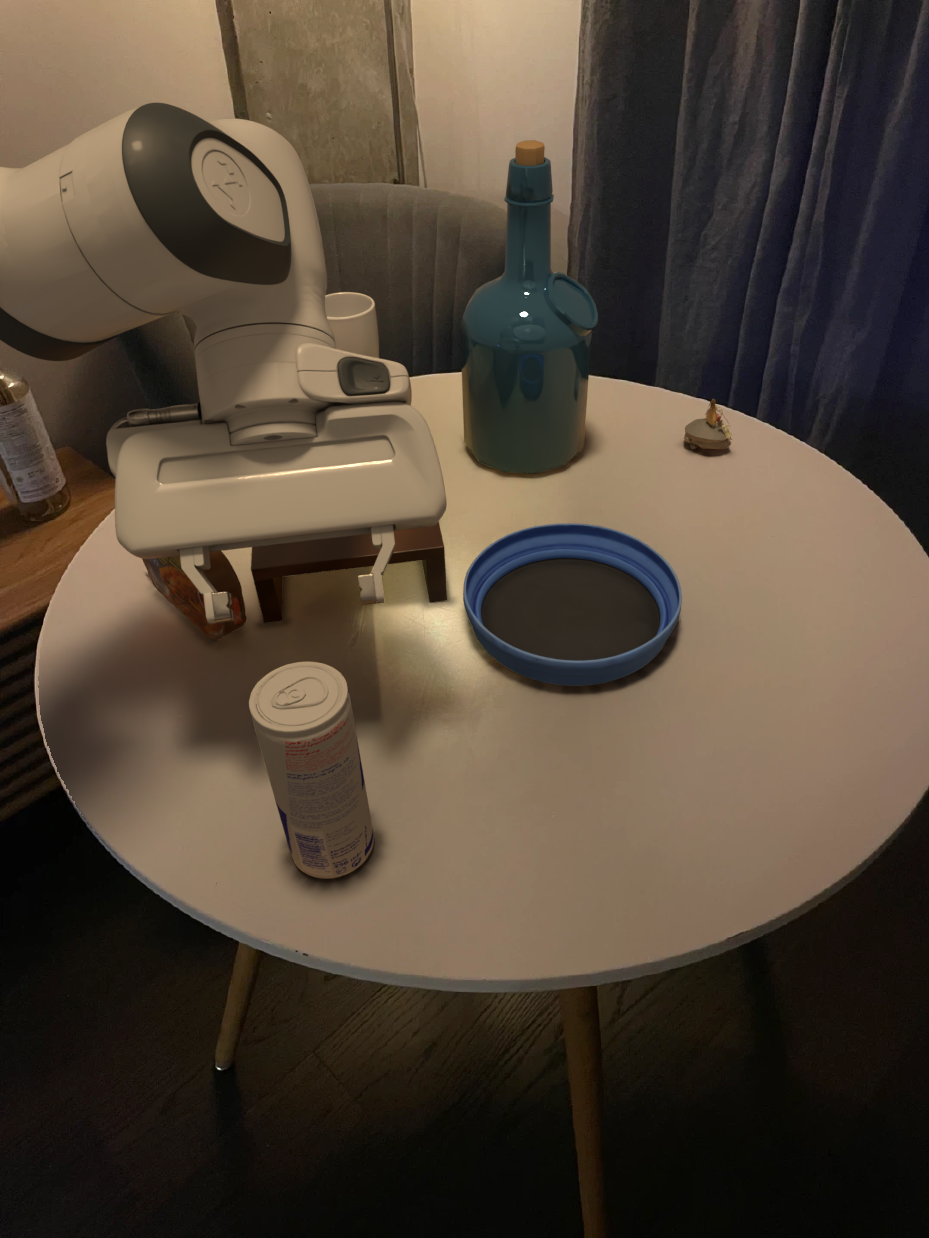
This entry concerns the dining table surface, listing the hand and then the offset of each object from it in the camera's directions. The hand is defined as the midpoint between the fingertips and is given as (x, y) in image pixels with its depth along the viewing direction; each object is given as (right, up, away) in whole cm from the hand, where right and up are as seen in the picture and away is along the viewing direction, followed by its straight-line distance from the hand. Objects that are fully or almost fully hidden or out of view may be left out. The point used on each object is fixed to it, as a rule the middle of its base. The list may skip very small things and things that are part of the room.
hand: (297, 613), depth 55 cm
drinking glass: (-2, +20, +44) cm, 49 cm away
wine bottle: (+17, +18, +42) cm, 48 cm away
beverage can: (+2, -16, +4) cm, 16 cm away
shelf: (0, +4, +26) cm, 27 cm away
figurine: (+37, +18, +40) cm, 57 cm away
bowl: (+19, 0, +21) cm, 28 cm away
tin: (-13, 0, +23) cm, 27 cm away
